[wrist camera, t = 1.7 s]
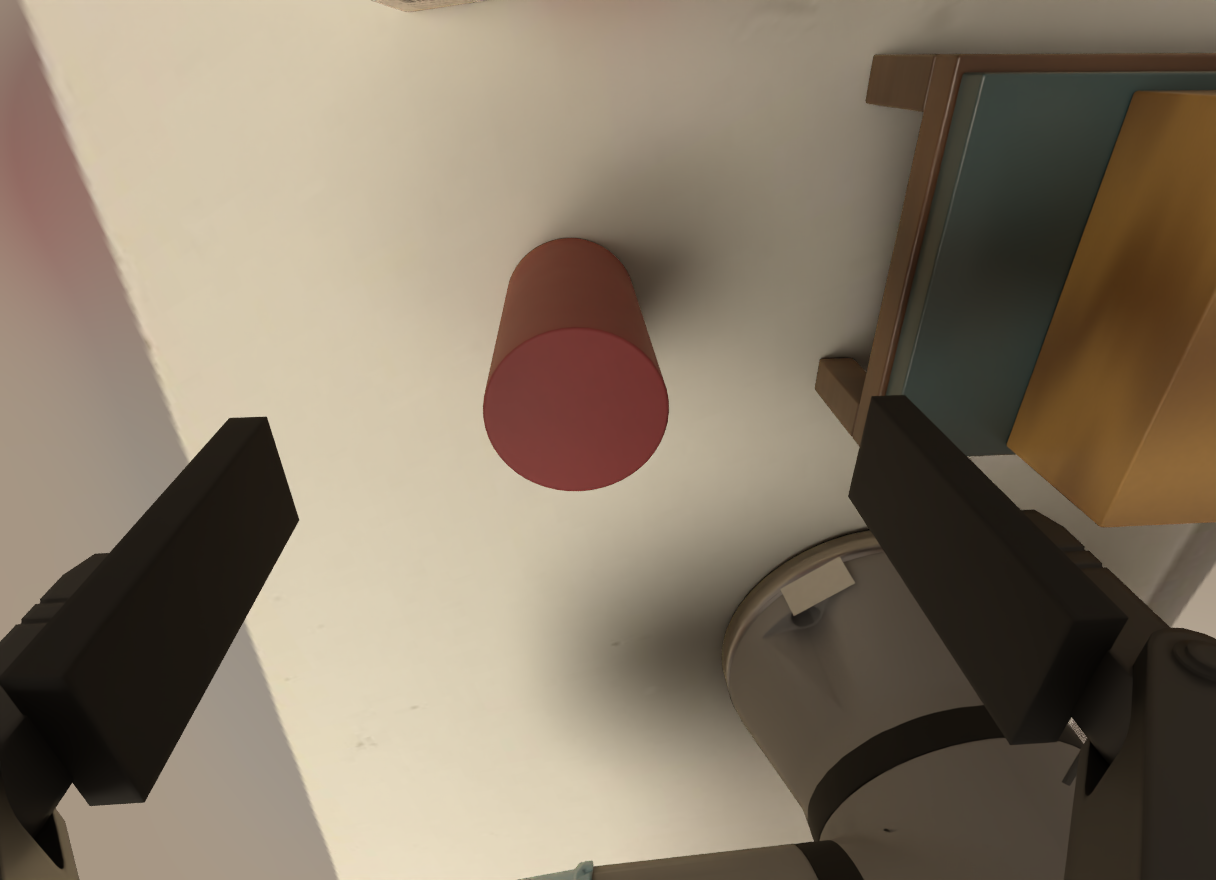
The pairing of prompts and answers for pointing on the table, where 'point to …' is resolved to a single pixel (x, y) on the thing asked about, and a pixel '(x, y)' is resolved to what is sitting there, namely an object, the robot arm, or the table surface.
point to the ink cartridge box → (421, 4)
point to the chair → (1056, 273)
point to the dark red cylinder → (574, 371)
